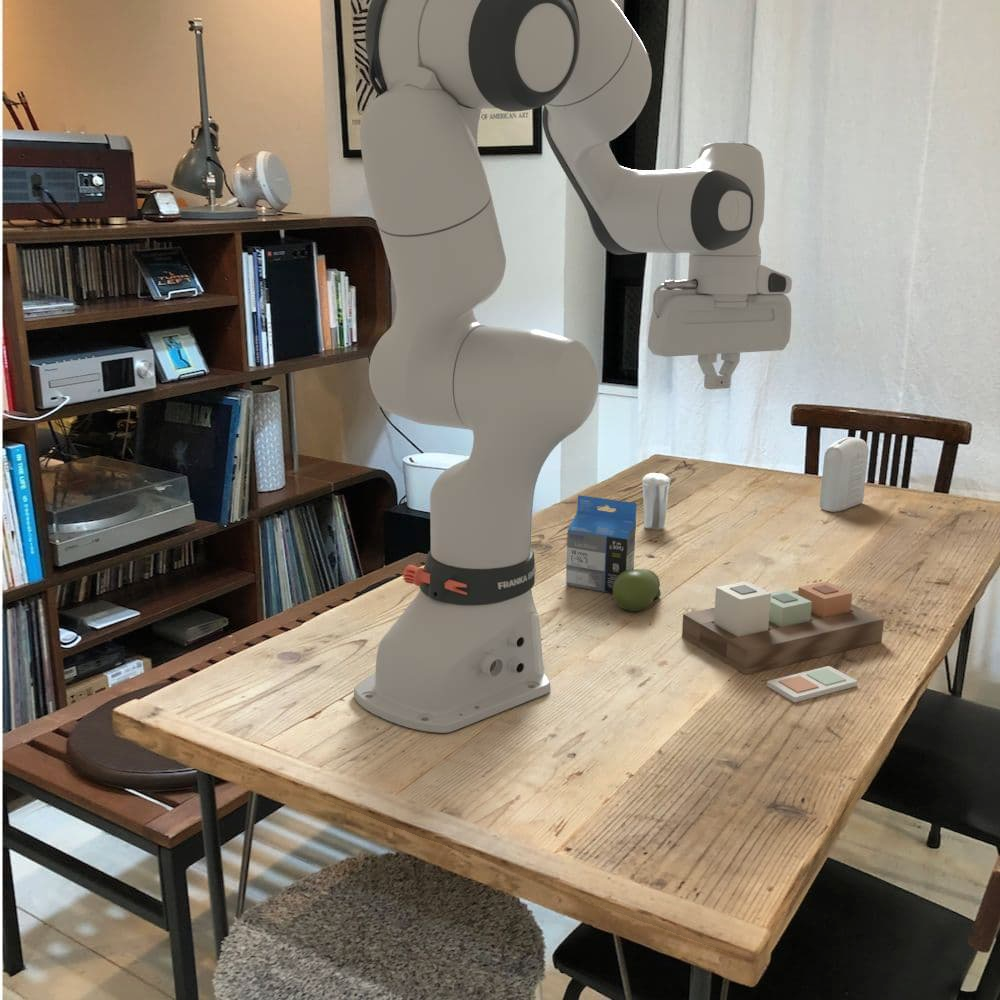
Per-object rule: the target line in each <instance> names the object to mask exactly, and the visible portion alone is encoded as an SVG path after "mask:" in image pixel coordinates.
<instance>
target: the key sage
mask: <svg viewBox="0 0 1000 1000" xmlns="http://www.w3.org/2000/svg"><path fill="white" fill-rule="evenodd" d="M770 593H771V601H770V613H769V621H770V622H772V623H774V624H775V625H777V626H779V627H785V626H790V625H794V624H799V623H803V622H808V621H810V617H811V607H812V601H810V600H807V599H805V598H803V597H801V596H799V595H797V594H795V593H793V591H790V590H788V589H781V590H778V591H772V592H770Z"/></svg>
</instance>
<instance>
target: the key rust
mask: <svg viewBox="0 0 1000 1000" xmlns="http://www.w3.org/2000/svg"><path fill="white" fill-rule="evenodd" d="M797 591H798V595H799V596H801V597H803V598H805V599H807V600H810V601H812V607H811V613H813V614H815V615H817V616H819V617H821V618H826V617H830V616H835V615H839V614H844V613H848V612H850V611H851V604H852V599H853V592H851V591H849V590H848V589H847V590H846V589H844V588H842V587H840V586H837V585H835V584H832V583H830V582H828V581H822V582H817V583H813V584H807V585H802V586H801V585H800V586H798V589H797Z"/></svg>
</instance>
